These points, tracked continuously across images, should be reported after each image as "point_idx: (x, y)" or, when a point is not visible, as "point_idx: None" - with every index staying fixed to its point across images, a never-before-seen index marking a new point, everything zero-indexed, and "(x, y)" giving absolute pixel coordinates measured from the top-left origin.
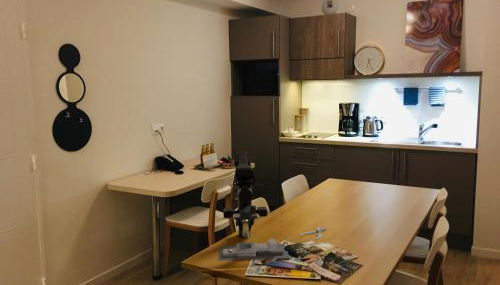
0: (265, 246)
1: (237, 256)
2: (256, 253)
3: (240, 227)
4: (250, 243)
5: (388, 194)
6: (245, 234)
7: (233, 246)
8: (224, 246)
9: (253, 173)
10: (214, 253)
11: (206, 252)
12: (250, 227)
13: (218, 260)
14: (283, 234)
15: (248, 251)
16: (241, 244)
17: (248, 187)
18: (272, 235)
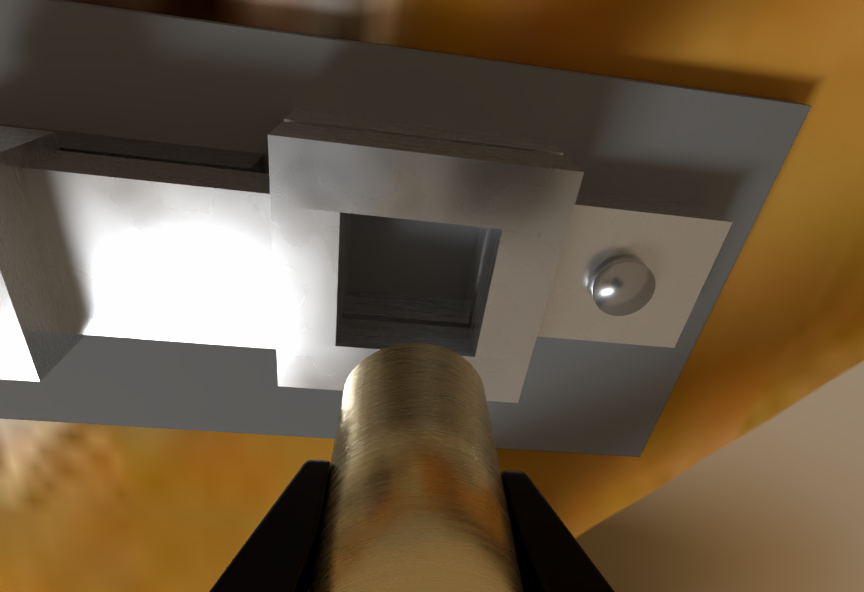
0: (103, 219)
1: (553, 144)
2: None
3: (590, 581)
4: (339, 362)
5: None
6: (434, 386)
7: (511, 434)
8: (595, 446)
9: None
10: (722, 348)
11: (781, 381)
12: (264, 555)
13: (804, 116)
14: (31, 582)
15: (398, 142)
16: (467, 355)
17: None
18: (131, 577)
